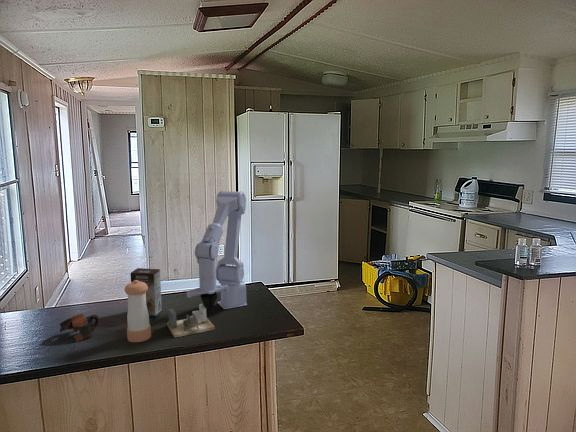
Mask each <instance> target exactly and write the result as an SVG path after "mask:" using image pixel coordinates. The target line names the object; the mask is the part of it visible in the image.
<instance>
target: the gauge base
mask: <svg viewBox="0 0 576 432" xmlns="http://www.w3.org/2000/svg"><path fill="white" fill-rule="evenodd" d="M183 320H187V319H185V318H184V319H180V320H177V328H174V329H172V327H171V326H170V324H169V321H168V322H166V324H167V325H166V326H167V327H168V330H169V331H170V333H171V335H172V336H173V337H174V339H175V338H181V337H183V336H190V335H195V334H200V333H206V332H210V331H215V330H216V329H215V328H216V327H215V325H214V324H213V323H212V321H210V320H209V318H208V317H207V316H206V320H207V321H205V322H201V323H199V324H198V323H196V322H195V320H194V319H193V320H190V321H189V322H188V325H189V326H184V325H183Z"/></svg>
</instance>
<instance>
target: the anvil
mask: <svg viewBox="0 0 576 432" xmlns="http://www.w3.org/2000/svg"><path fill="white" fill-rule="evenodd" d="M167 313H168V315H167V316H168V322H169V324H170V326H171V327H172V329H174V328H177V321H178V319H177V313H176V311H175V310H174V308H172V307H171V308H168V310H167Z"/></svg>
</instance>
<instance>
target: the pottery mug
mask: <svg viewBox="0 0 576 432" xmlns="http://www.w3.org/2000/svg"><path fill="white" fill-rule="evenodd" d="M93 320H95V321H94V324H92V321H93ZM100 323H101V318H100V317H99V315H98V314H92V315H89V316H84V314H83V313H78V314H76V315H73V316H72V317H69V318H67V319H65V320H63V321H61V322H60V323H59V326H60V329H59V333H60V334H61V333H63V332H64V331H66V330H67V331H68V330H72V331H74V332H77V331H79V333H77V334H75V335H74V336H73V338H74V340H75V342H77V343H78V342H80V341H83V340H86V339H88V338H90V337H92V336H93V332H94V330H95V329H96V328H98V326H100Z"/></svg>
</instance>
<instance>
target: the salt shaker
mask: <svg viewBox="0 0 576 432" xmlns="http://www.w3.org/2000/svg"><path fill="white" fill-rule="evenodd" d="M147 290H148V286H147V284H146V283H144V282H141V281H138V280H134V281H133V282H131V281H130V282H129V283H127V284H126V285H125V287H124V292H125V294H126V295H127V304H128V305H127V317H126V319H127V320H126V321H127V328H126V338H127V341H128V342H131V343H142V342H145V341H148V340H149V339H150V338H151V337H152V331H151V330H152V329H151V328H152V327H151V324H150V316H149V314H148V310H147V305H146V292H147Z"/></svg>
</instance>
